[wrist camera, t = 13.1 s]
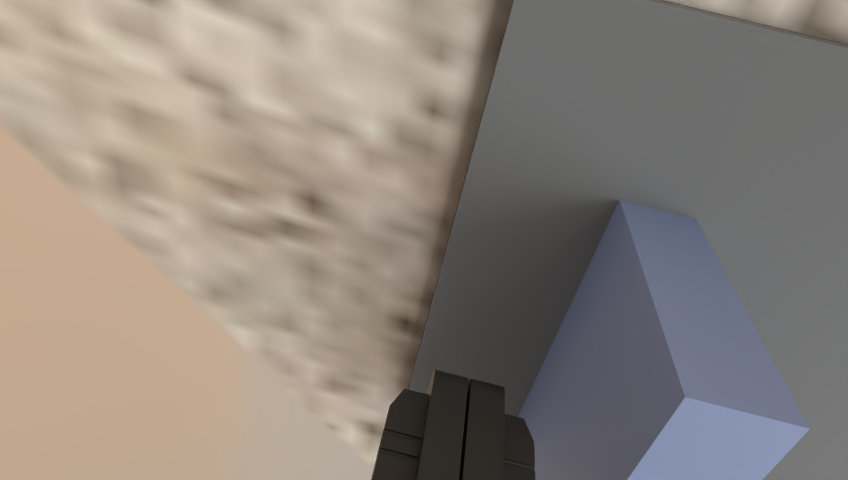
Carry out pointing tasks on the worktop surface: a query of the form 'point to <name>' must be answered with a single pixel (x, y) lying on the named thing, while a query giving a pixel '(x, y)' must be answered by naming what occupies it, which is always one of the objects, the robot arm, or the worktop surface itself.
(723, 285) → the card deck
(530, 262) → the mat
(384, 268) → the worktop surface
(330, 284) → the worktop surface
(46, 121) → the worktop surface
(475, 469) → the robot arm
